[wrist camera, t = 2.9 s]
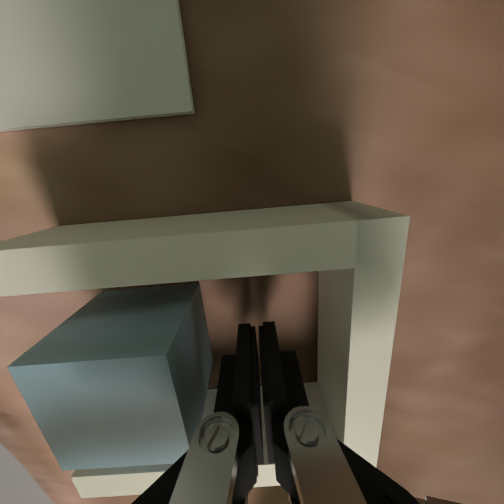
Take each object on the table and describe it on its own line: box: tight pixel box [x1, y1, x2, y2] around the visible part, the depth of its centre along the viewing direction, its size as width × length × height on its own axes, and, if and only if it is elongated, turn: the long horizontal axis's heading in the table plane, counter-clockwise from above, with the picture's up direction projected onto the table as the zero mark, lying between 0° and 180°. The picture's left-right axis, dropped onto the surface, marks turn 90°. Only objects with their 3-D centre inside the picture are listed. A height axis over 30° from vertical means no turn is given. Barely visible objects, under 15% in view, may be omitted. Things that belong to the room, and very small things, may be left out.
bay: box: [0, 201, 410, 498], centre depth 11 cm, size 12×14×4 cm
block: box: [7, 283, 213, 471], centre depth 10 cm, size 5×5×5 cm
